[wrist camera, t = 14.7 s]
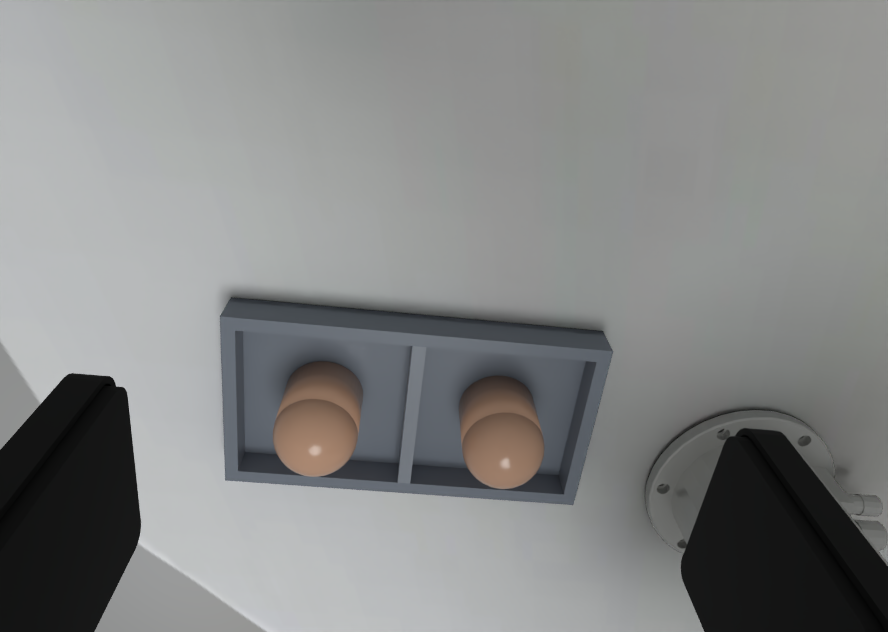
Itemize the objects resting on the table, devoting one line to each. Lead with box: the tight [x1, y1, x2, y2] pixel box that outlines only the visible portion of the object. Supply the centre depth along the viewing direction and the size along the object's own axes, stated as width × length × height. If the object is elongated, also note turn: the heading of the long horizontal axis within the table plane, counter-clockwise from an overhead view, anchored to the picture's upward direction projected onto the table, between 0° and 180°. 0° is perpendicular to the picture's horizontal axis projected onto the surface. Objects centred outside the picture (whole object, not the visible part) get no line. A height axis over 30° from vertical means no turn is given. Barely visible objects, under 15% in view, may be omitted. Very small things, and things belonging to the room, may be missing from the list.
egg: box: [273, 361, 363, 477], centre depth 40 cm, size 5×5×6 cm
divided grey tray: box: [220, 297, 613, 505], centre depth 43 cm, size 22×12×2 cm, turn 83°
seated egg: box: [459, 376, 544, 489], centre depth 41 cm, size 5×5×6 cm
